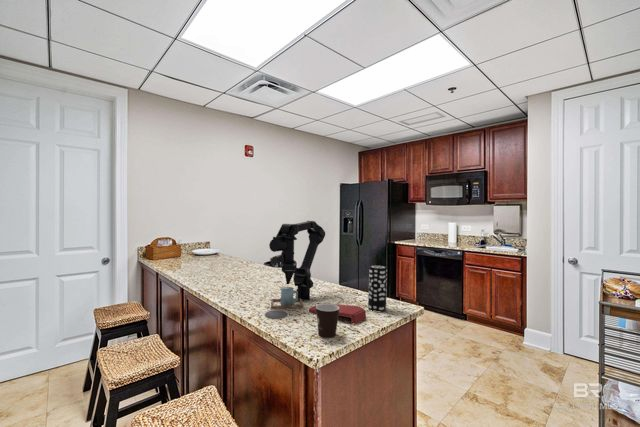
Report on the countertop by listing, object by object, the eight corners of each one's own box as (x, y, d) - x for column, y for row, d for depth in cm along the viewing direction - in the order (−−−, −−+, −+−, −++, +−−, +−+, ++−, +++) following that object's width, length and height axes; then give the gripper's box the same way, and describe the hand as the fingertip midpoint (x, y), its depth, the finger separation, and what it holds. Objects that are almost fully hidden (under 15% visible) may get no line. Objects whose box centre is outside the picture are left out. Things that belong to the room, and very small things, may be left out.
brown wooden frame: (301, 300, 151) (301, 298, 151) (303, 308, 139) (303, 305, 139) (271, 301, 148) (271, 298, 148) (270, 309, 136) (271, 306, 136)
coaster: (287, 310, 135) (287, 310, 135) (288, 318, 125) (288, 317, 125) (265, 311, 133) (265, 310, 133) (264, 319, 123) (264, 318, 123)
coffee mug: (336, 340, 104) (337, 312, 104) (313, 337, 106) (313, 310, 106) (341, 328, 116) (341, 302, 116) (319, 325, 117) (320, 300, 117)
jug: (297, 302, 147) (297, 286, 147) (298, 306, 141) (298, 289, 141) (280, 302, 146) (280, 286, 146) (280, 306, 140) (281, 289, 140)
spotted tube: (387, 308, 142) (388, 266, 142) (383, 313, 134) (384, 269, 134) (370, 305, 145) (371, 264, 145) (366, 310, 138) (367, 267, 138)
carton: (307, 320, 134) (353, 326, 119) (306, 309, 135) (351, 313, 119) (324, 313, 144) (368, 318, 128) (323, 303, 144) (367, 306, 128)
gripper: (271, 247, 151) (270, 277, 152) (270, 252, 133) (270, 287, 133) (293, 247, 153) (292, 277, 153) (295, 252, 135) (295, 286, 135)
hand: (287, 281), depth 144 cm, fingers open, 9 cm apart
